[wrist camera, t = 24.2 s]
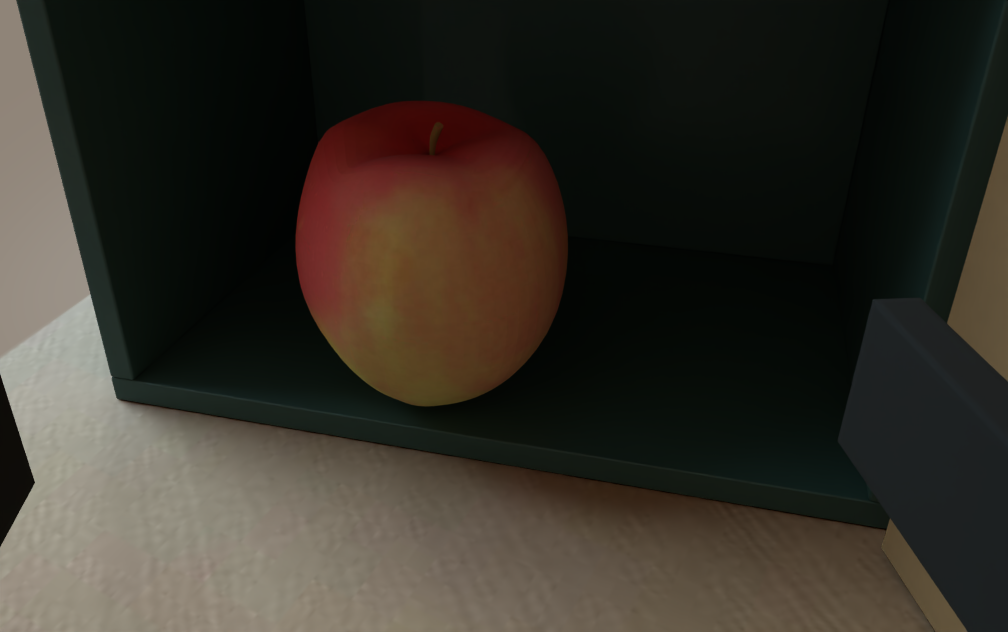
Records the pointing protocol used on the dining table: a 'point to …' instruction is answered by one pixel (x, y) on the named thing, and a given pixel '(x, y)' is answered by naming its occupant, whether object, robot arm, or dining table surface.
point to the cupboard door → (991, 333)
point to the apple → (431, 248)
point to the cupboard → (587, 202)
